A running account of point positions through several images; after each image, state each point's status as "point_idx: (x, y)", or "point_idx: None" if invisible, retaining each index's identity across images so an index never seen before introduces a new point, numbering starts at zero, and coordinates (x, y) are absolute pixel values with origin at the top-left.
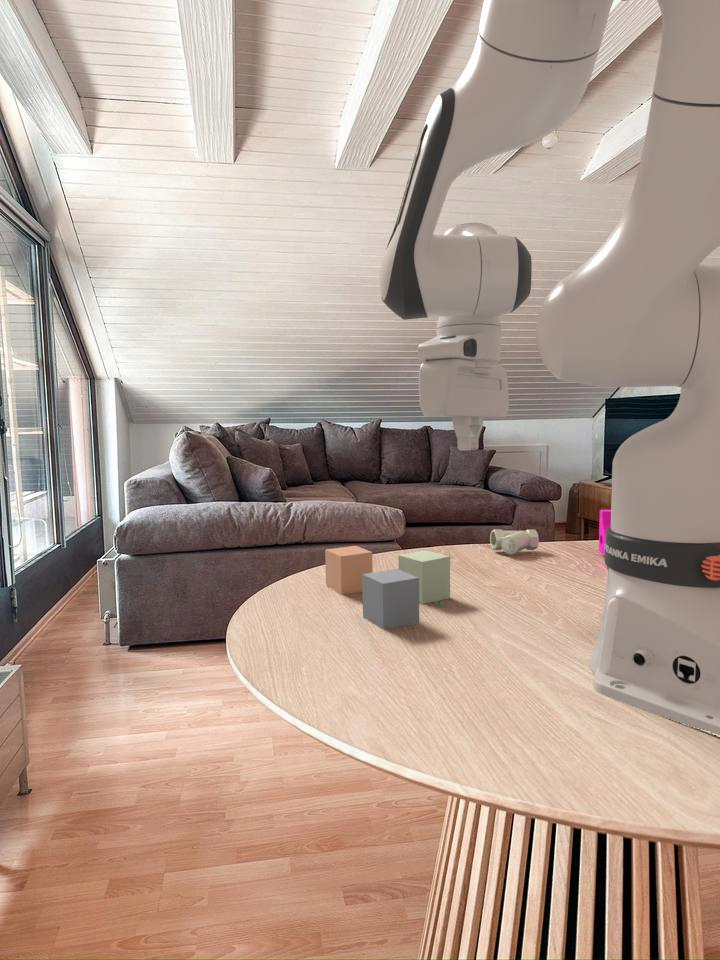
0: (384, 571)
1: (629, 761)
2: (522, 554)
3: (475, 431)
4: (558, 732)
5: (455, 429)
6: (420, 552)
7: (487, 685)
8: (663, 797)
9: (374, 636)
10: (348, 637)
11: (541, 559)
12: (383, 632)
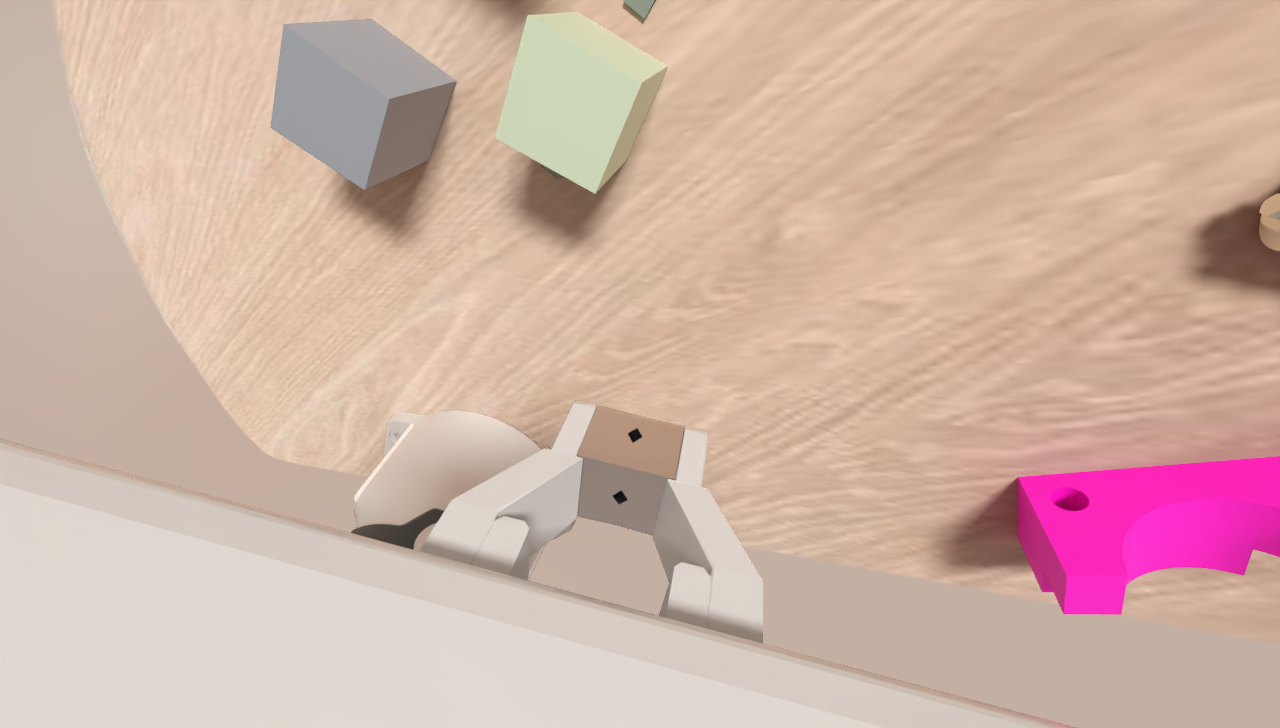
0: (346, 75)
1: (300, 429)
2: None
3: (671, 566)
4: (295, 386)
5: (484, 489)
6: (601, 78)
7: (322, 318)
8: (278, 442)
9: None
10: None
11: (1162, 310)
12: None
